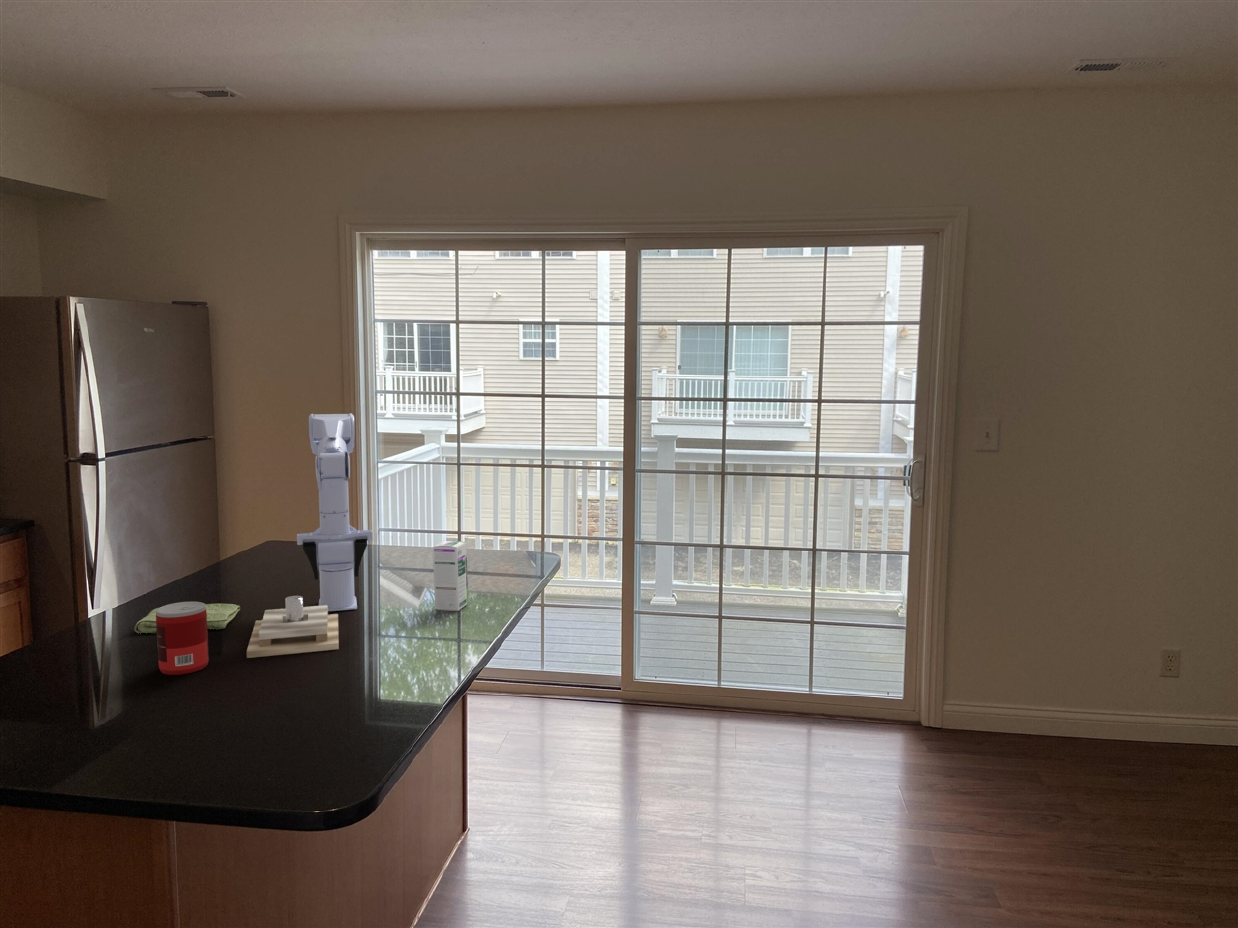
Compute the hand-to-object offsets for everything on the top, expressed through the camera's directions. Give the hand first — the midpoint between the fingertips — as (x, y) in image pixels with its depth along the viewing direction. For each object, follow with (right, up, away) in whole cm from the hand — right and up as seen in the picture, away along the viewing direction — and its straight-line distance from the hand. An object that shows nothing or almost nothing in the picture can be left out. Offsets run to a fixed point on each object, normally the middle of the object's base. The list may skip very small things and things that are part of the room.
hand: (336, 577), depth 172 cm
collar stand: (-6, -11, -6) cm, 14 cm away
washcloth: (-32, -11, +3) cm, 34 cm away
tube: (-6, -11, -6) cm, 14 cm away
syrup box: (+20, -9, +16) cm, 27 cm away
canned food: (-19, -13, -23) cm, 33 cm away
